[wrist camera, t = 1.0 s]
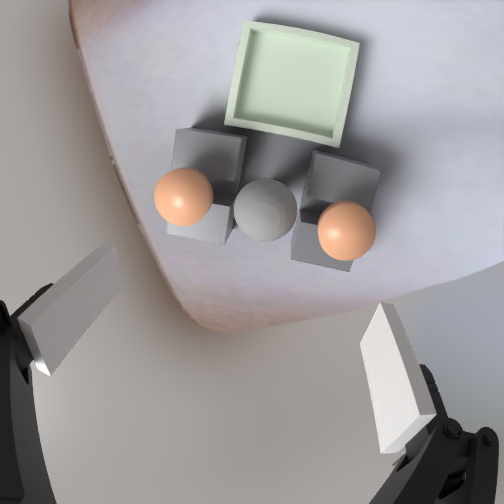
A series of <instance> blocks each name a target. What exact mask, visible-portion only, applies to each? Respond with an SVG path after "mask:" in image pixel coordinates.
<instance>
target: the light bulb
mask: <svg viewBox="0 0 504 504" xmlns="http://www.w3.org/2000/svg"><path fill="white" fill-rule="evenodd" d="M296 216H297V204H296V200H295V197H294V195H293V193H292V192H291V191H290V189H289V188H288V187H287V186H285V185H284V184H283V183H281V182H279V181H276V180H273V179H267V178H264V179H257V180H254V181H252V182H250V183H248V184H247V185H245V186H244V187H243V188H242V189H241V191H240V192H239V194H238V195H237V197H236V200H235V203H234V217H235V220H236V222H237V224H238V226H239V228H240V229H241V230H242V232H243V233H244V234H246V235H247V236H248V237H250V238H252V239H254V240H258V241H264V242H267V241H273V240H277V239H279V238H281V237H282V236H284V235H285V234H287V233H288V232H289V231H290V229H291V228H292V227H293V225H294V223H295V220H296Z"/></svg>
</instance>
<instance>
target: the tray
mask: <svg viewBox="0 0 504 504" xmlns="http://www.w3.org/2000/svg"><path fill="white" fill-rule="evenodd" d="M359 44H360V43H357V42H354V41H350V40H347V39H343V38H340V37H336V36H332V35H328V34H324V33H319V32H315V31H310V30H305V29H300V28H295V27H289V26H283V25H277V24H269V23H262V22H253V21H244V22H243V27H242V31H241V36H240V41H239V46H238V51H237V56H236V61H235V66H234V71H233V76H232V82H231V87H230V92H229V98H228V104H227V109H226V115H225V121H224V125H229V126H235V127H241V128H248V129H253V130H259V131H265V132H270V133H275V134H280V135H285V136H290V137H294V138H299V139H303V140H308V141H312V142H316V143H320V144H324V145H328V146H332V147H336V148H339V146H340V141H341V137H342V132H343V128H344V123H345V119H346V114H347V109H348V104H349V99H350V94H351V89H352V84H353V79H354V73H355V68H356V62H357V56H358V50H359Z"/></svg>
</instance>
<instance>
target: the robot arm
mask: <svg viewBox="0 0 504 504" xmlns="http://www.w3.org/2000/svg"><path fill="white" fill-rule="evenodd" d="M118 292H119V280H118V266H117V246H116V245H112V244H108V243H103V244H102V245H101V246H99V247H98V248H97V249H96V250H94V251H93V252H92V253H91V254H90V255H88V256H87V257H86V258H84V259H83V260H82V261H81V262H80V263H78V264H77V265H76V266H75V267H74V268H73V269H71V270H70V271H69V272H68V273H67V274H65V275H64V276H63V277H62V278H61V279H59V280H58V281H57V282H56V283H55V284H52V283H50V284H48V285H46V286H44V287H42V288H41V289H40V290H38V291H37V292H36V293H35V295H33V296H32V297H31V298H29V300H27V301H26V302H25V303H24V304H23V305H22V306H21V307H20V308H18V309H17V310H16V311H15V312H14V313H13V314H12V315H11V316H9V313H8V310H7V307H6V304H5V303H4V302H3V301H2V300H0V504H57V503H56V500H55V497H54V494H53V491H52V488H51V484H50V481H49V477H48V473H47V470H46V465H45V462H44V457H43V453H42V448H41V443H40V438H39V432H38V426H37V420H36V413H35V405H34V396H33V385H32V371H31V367H30V363H31V362H32V361H33V360H34V362H35V364H36V366H37V368H38V369H39V370H40V371H42V372H44V373H46V374H48V375H50V376H51V375H52V374H53V372H54V371H55V370H56V368H57V367H58V366H59V365H60V363H61V362H62V360H63V359H64V358H65V357H66V355H67V354H68V353H69V352H70V350H71V349H72V348H73V346H74V345H75V344H76V343H77V341H78V340H79V339H80V338H81V336H82V335H83V334H84V333H85V332H86V330H87V329H88V328H89V327H90V325H91V324H92V323H93V322H94V320H95V319H96V318H97V317H98V316H99V315H100V313H101V312H102V311H103V310H104V308H105V307H106V306H107V305H108V304H109V303H110V301H111V300H112V299H113V298H114V297H115V296H116V295H117V294H118ZM360 347H361V351H362V355H363V360H364V364H365V369H366V373H367V378H368V383H369V388H370V393H371V398H372V403H373V409H374V414H375V420H376V426H377V432H378V439H379V445H380V452H381V454H382V453H397V452H398V451H399V450H400V449H401V448H403V447H404V446H405V447H406V453H405V454H404V455H403V456H402V457H400V458H399V459H398V460H397V461H396V462H395V463H394V464H393V466H395V465H396V464H397V463H398V464H397V466H396V467H395V468H394V470H393V471H392V473H391V474H390V476H389V477H388V479H387V480H386V482H385V483H384V484H383V486H382V487H381V488H380V490H379V491H378V492H377V494H376V495H375V496H374V498H373V499H372V500H371V502H370V503H369V504H494V502H495V494H496V485H497V474H498V456H499V441H498V437H497V435H496V433H495V432H494V431H493V430H492V429H491V428H489V427H483V428H481V429H480V430H479V431H478V432H476V433H475V434H474V433H469V432H465V431H463V429H462V427H461V426H460V424H459V423H458V422H457V421H456V420H454V419H452V418H448V416H447V413H446V410H445V407H444V405H443V402H442V399H441V396H440V393H439V392H438V388H437V386H436V384H435V380H434V378H433V375H432V373H431V372H430V371H429V369H428V368H427V367H426V366H425V365H422V364H421V365H420V364H418V361H417V358H416V356H415V353H414V351H413V348H412V346H411V344H410V341H409V338H408V336H407V334H406V332H405V329H404V327H403V325H402V322H401V320H400V318H399V316H398V313H397V311H396V309H395V307H394V305H393V304H388V303H383V302H380V304H379V306H378V308H377V310H376V312H375V314H374V316H373V318H372V321H371V323H370V325H369V327H368V329H367V331H366V333H365V335H364V337H363V339H362V341H361V343H360ZM465 475H466V478H465Z"/></svg>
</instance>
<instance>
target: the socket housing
mask: <svg viewBox="0 0 504 504" xmlns="http://www.w3.org/2000/svg"><path fill="white" fill-rule="evenodd" d="M247 139H248V136H246V135H240V134H234V133H227V132H221V131H214V130H206V129H198V128H184V129H176V135H175V143H174V151H173V160H172V170H171V171H173V170H175V169H178V168H182V167H188V168H193V169H196V170H198V171H200V172H201V173H203V174H204V175H205V176H206V177H207V179H208V180H209V182H210V184H211V186H212V190H213V202H212V205H211V207H210V209H209V211H208V212H207V213H206V214H205V216H204V217H203V218H202V219H201V220H200V221H199V222H197V223H196V224H193V225H190V226H177V225H174V224H172V223H170V222H168V221H167V233H169V234H173V235H178V236H183V237H187V238H192V239H197V240H201V241H206V242H211V243H216V244H220V245H225V243H226V241H227V239H228V237H229V235H230V233H231V231H232V228H233V222H234V203H235V200H236V197H237V195H238V191H239V185H240V179H241V173H242V167H243V161H244V156H245V150H246V144H247ZM380 173H381V171H380V170H378V169H376V168H375V167H373V166H372V165H370V164H367V163H364V162H360V161H357V160H353V159H350V158H346V157H342V156H339V155H335V154H331V153H327V152H323V151H319V150H315V149H313V151H312V156H311V160H310V165H309V169H308V174H307V178H306V182H305V187H304V191H303V195H302V199H301V204H300V208H299V212H298V216H297V220H296V224H295V229H294V233H293V237H292V241H291V260H296V261H300V262H305V263H310V264H314V265H319V266H324V267H328V268H333V269H338V270H342V271H347V272H349V271H350V268H351V266H352V263H353V260H348V261H343V260H338V259H335V258H333V257H331V256H329V255H328V254H327V253H326V252H325V251H324V250H323V248H322V246H321V244H320V241H319V237H318V232H317V224H318V220H319V218H320V215H321V214H322V212H323V211H324V210H325V209H326V208H327V207H328V206H330V205H331V204H333V203H335V202H338V201H345V200H346V201H353V202H356V203H358V204H360V205H361V206H363V207H364V208H365V209H366V211H367V212H369V211H370V208H371V205H372V201H373V198H374V195H375V191H376V188H377V184H378V180H379V177H380Z"/></svg>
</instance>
